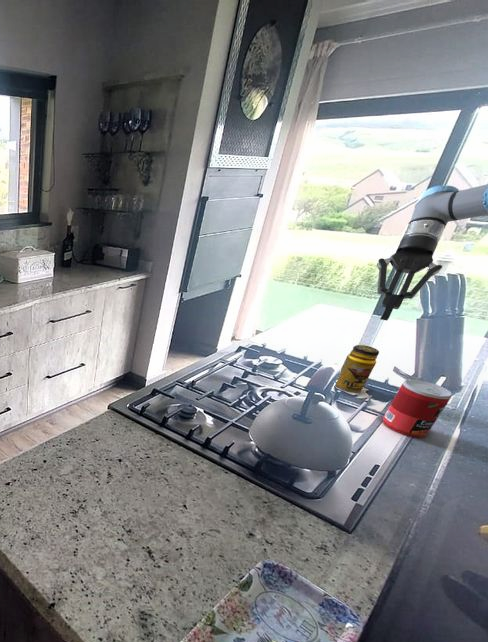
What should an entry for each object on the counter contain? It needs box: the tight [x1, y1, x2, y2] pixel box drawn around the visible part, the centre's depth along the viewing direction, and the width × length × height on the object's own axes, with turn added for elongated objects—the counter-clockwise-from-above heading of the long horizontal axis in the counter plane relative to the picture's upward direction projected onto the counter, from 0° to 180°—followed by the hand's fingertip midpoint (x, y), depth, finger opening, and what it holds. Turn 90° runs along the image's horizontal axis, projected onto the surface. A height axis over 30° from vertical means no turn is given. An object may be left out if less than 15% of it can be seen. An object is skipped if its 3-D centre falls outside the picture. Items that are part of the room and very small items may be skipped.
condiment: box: [335, 344, 380, 396], centre depth 110 cm, size 7×8×12 cm
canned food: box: [382, 378, 453, 438], centre depth 92 cm, size 8×8×11 cm
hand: (384, 317), depth 109 cm, fingers closed
